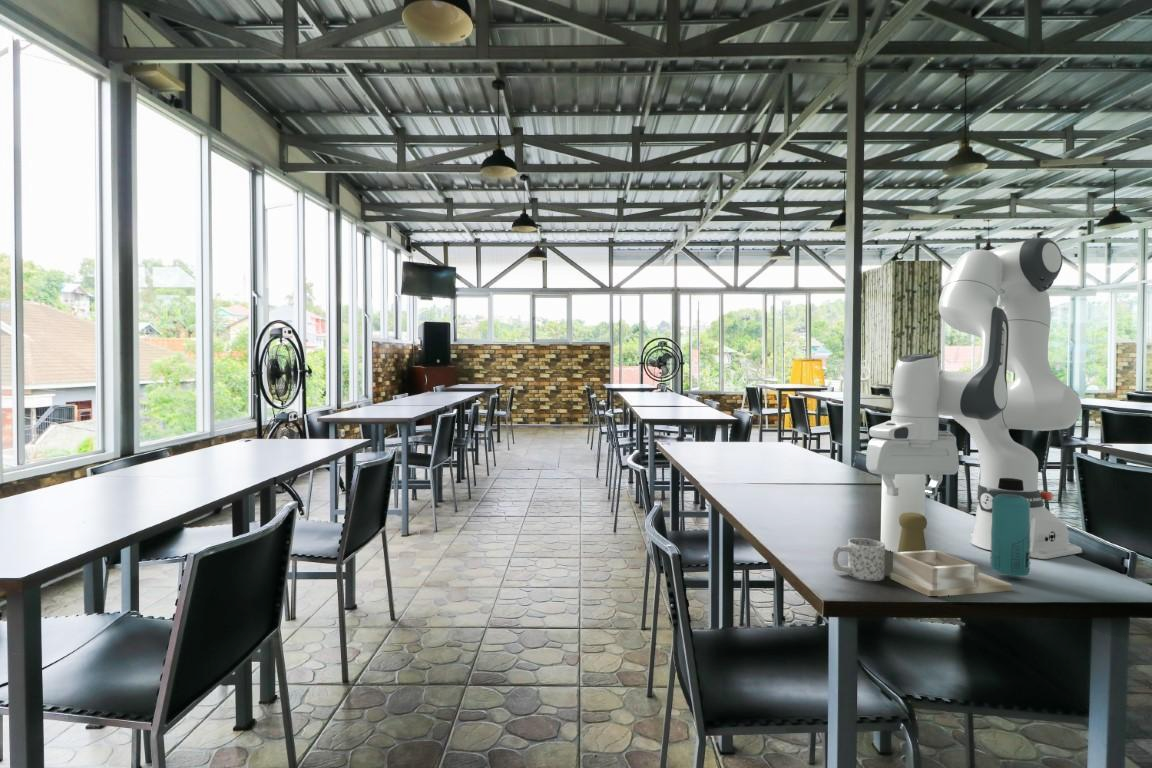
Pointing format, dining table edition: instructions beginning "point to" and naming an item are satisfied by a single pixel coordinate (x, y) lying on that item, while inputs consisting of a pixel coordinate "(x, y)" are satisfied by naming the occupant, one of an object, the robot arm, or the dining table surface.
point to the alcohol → (900, 506)
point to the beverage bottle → (1010, 530)
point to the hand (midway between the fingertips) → (911, 495)
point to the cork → (912, 532)
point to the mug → (862, 559)
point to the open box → (942, 574)
